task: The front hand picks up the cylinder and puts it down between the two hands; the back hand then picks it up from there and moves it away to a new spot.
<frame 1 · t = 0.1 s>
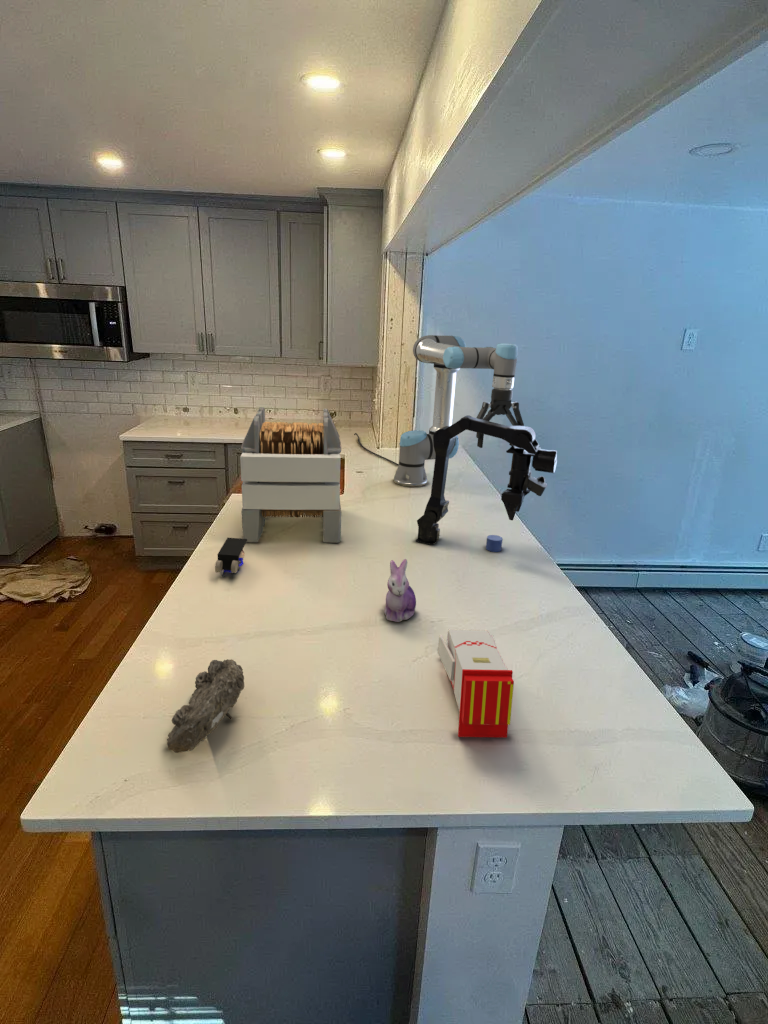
front hand: (514, 515, 180), 15 cm above the counter, tool pointing down, fingers open, 9 cm apart
back hand: (496, 446, 211), 28 cm above the counter, tool pointing down, fingers open, 13 cm apart
figurine: (399, 614, 147), on the counter
cylinder: (493, 549, 191), on the counter
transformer: (293, 525, 203), on the counter
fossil: (212, 717, 108), on the counter
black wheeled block: (232, 569, 168), on the counter
toy: (469, 691, 119), on the counter
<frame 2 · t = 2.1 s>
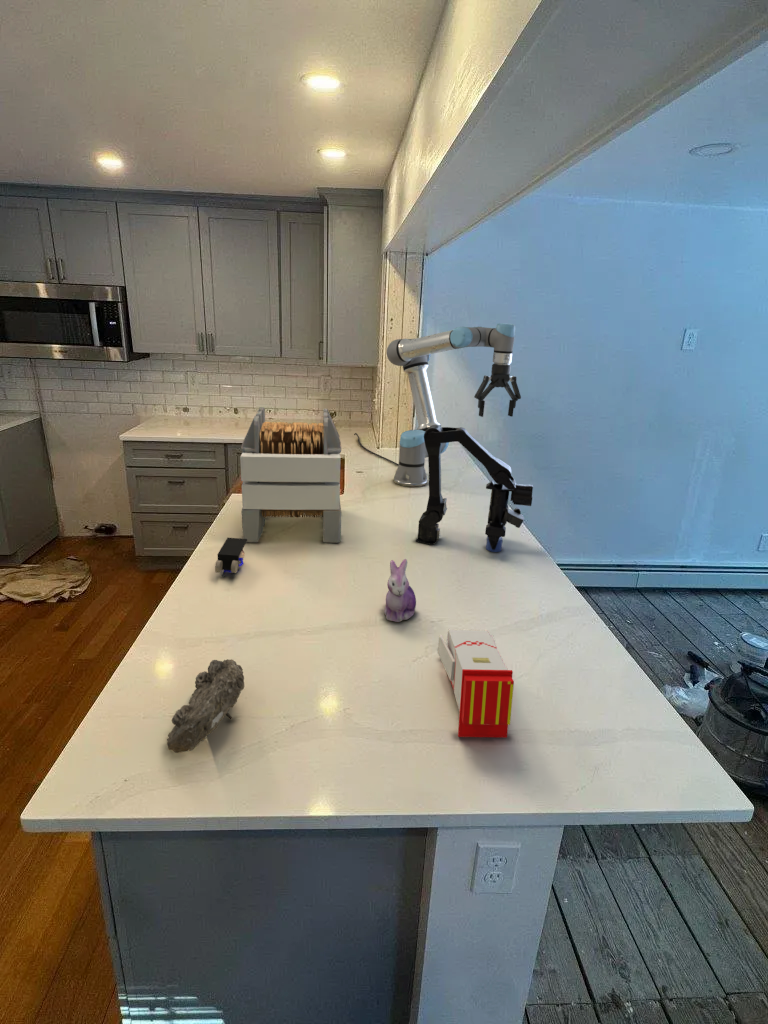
front hand: (493, 546, 190), 1 cm above the counter, tool pointing down, fingers closed on cylinder, 5 cm apart
back hand: (495, 416, 237), 34 cm above the counter, tool pointing down, fingers open, 13 cm apart
cylinder: (493, 549, 191), on the counter, touching front hand
everything else where it was.
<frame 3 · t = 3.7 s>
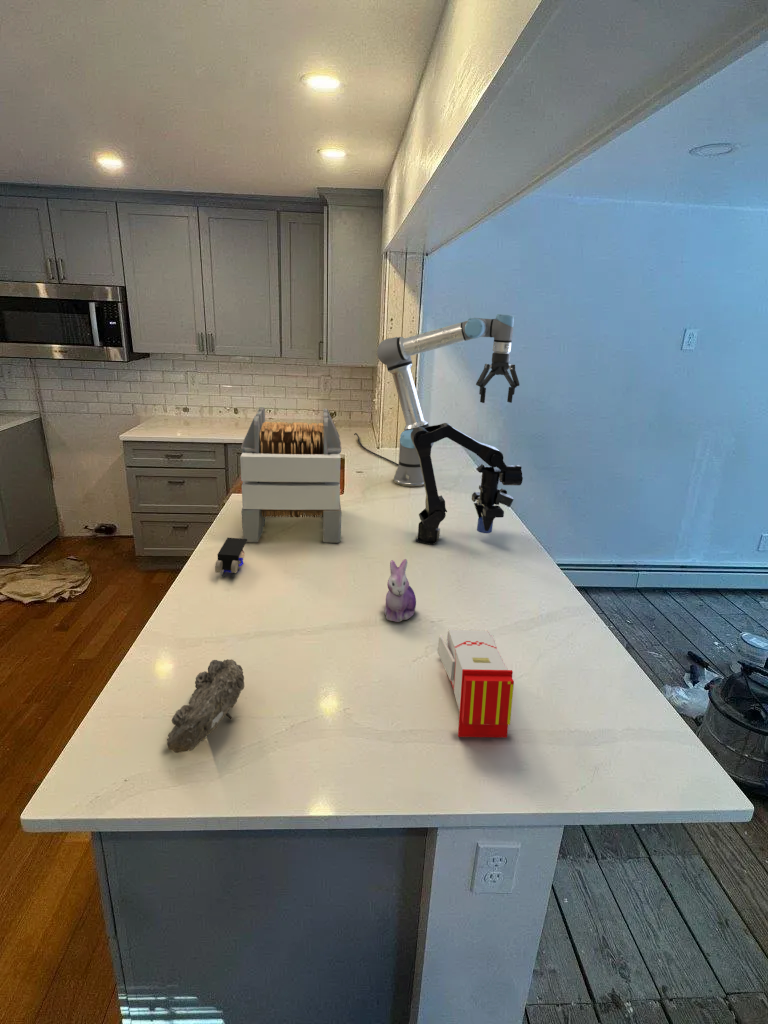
front hand: (484, 527, 196), 5 cm above the counter, tool pointing down, fingers closed on cylinder, 5 cm apart
back hand: (495, 402, 250), 38 cm above the counter, tool pointing down, fingers open, 13 cm apart
cylinder: (484, 530, 196), point 4 cm above the counter, touching front hand
everything else where it was.
when the front hand's fingers open (2 cm above the counter, at t = 5.8 s): cylinder stays where it is, on the counter.
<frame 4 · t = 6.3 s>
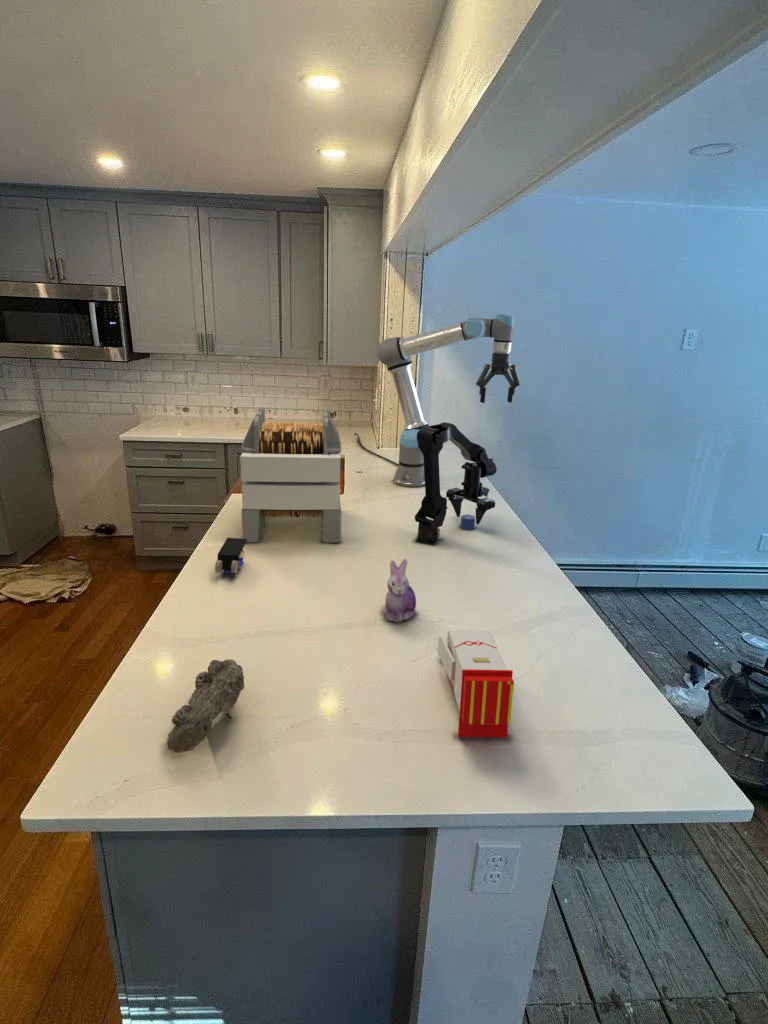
front hand: (467, 520, 208), 3 cm above the counter, tool pointing down, fingers open, 9 cm apart
back hand: (495, 402, 250), 38 cm above the counter, tool pointing down, fingers open, 13 cm apart
cylinder: (467, 527, 209), on the counter
everything else where it was.
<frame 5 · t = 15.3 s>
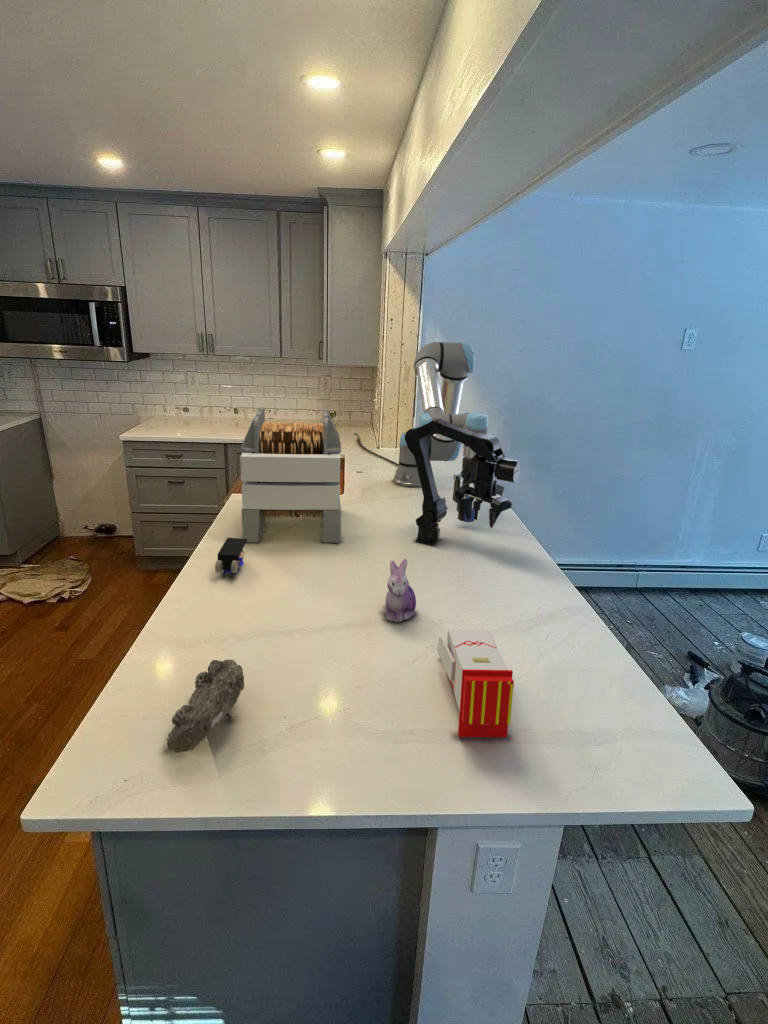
front hand: (479, 523, 182), 11 cm above the counter, tool pointing down, fingers open, 9 cm apart
back hand: (467, 519, 208), 3 cm above the counter, tool pointing down, fingers closed on cylinder, 5 cm apart
cylinder: (467, 519, 208), point 3 cm above the counter, touching back hand
everything else where it was.
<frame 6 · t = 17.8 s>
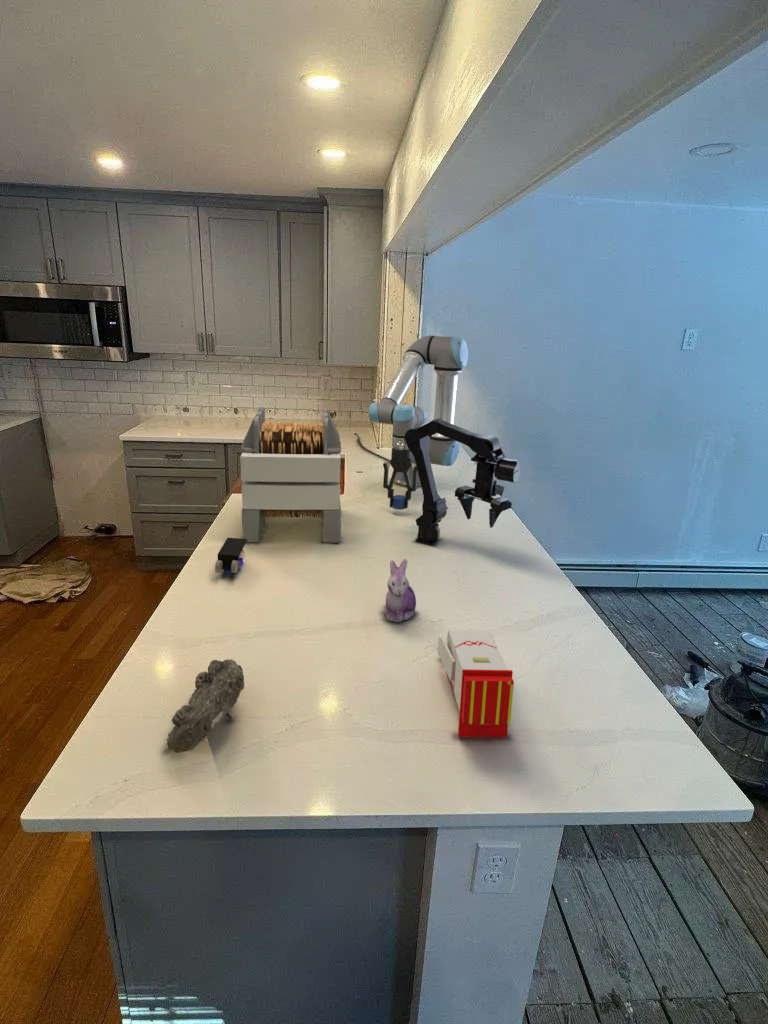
front hand: (479, 523, 182), 11 cm above the counter, tool pointing down, fingers open, 9 cm apart
back hand: (398, 506, 218), 3 cm above the counter, tool pointing down, fingers closed on cylinder, 5 cm apart
cylinder: (398, 507, 218), point 3 cm above the counter, touching back hand
everything else where it was.
when the back hand's fingers open (0 cm above the counter, at t = 20.7 s): cylinder stays where it is, on the counter.
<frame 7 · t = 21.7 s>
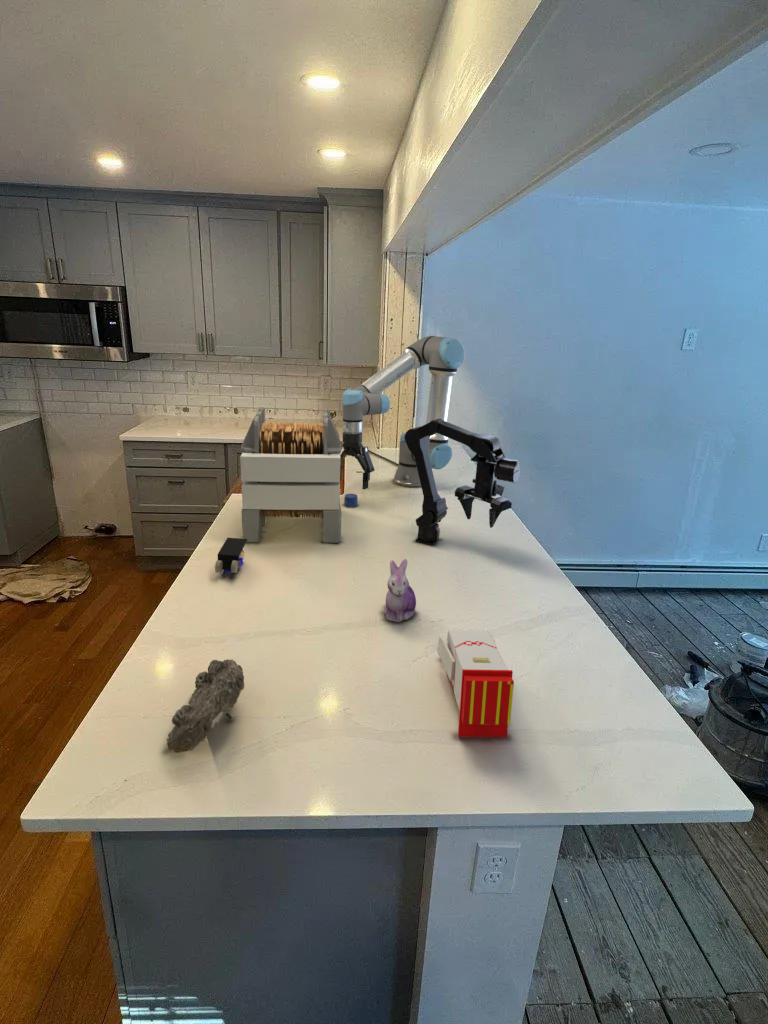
front hand: (479, 523, 182), 11 cm above the counter, tool pointing down, fingers open, 9 cm apart
back hand: (351, 485, 224), 8 cm above the counter, tool pointing down, fingers open, 13 cm apart
cylinder: (350, 505, 226), on the counter
everything else where it was.
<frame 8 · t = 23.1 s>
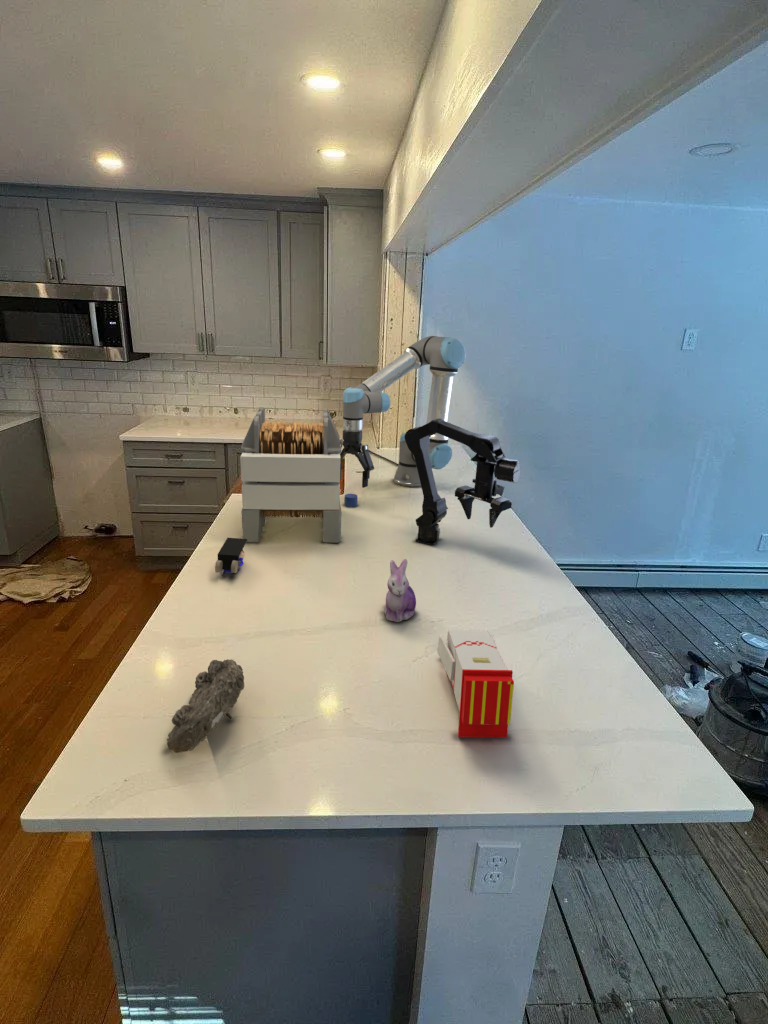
front hand: (479, 523, 182), 11 cm above the counter, tool pointing down, fingers open, 9 cm apart
back hand: (351, 483, 223), 9 cm above the counter, tool pointing down, fingers open, 13 cm apart
nothing on the counter moved.
at the end: cylinder inside the target area (0.1 cm from its centre), on the counter; cylinder tilted 0°; the two hands never held the cylinder at the same time; the front hand is holding nothing; the back hand is holding nothing; cylinder at rest at the end (0.0 cm/s) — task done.
